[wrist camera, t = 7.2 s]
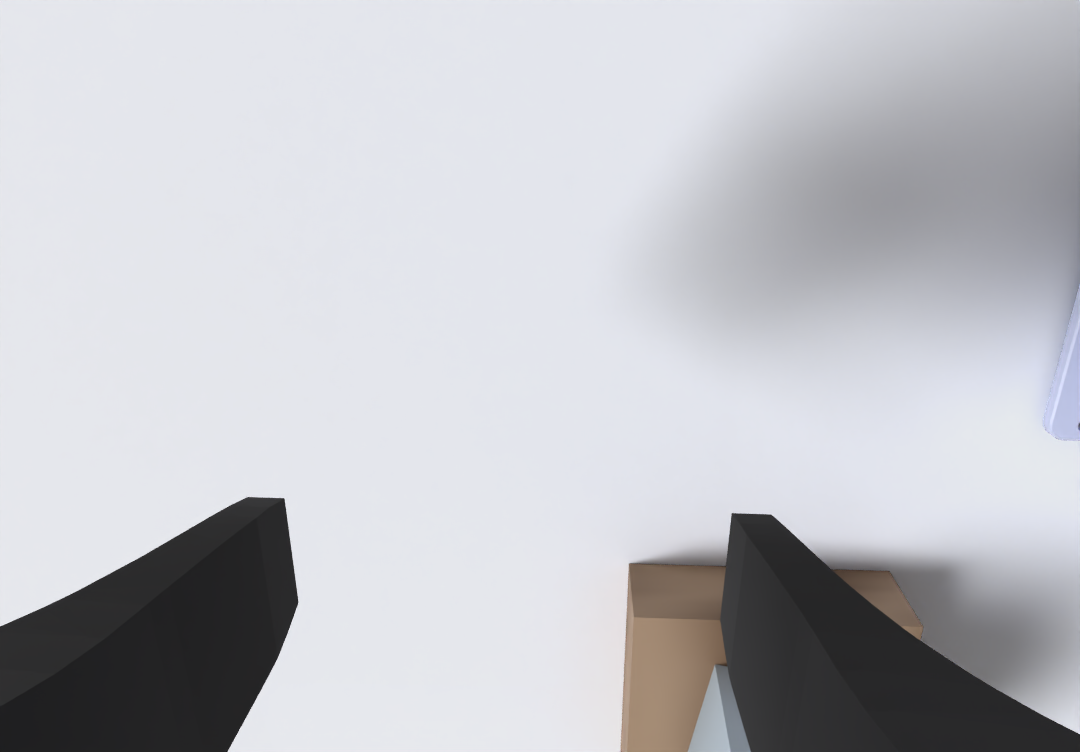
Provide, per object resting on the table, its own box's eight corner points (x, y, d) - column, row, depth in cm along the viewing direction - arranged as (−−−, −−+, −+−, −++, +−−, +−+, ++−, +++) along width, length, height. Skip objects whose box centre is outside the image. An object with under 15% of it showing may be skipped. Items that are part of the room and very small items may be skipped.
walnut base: (883, 562, 24) (923, 627, 21) (847, 752, 27) (877, 830, 24) (628, 555, 24) (633, 617, 21) (619, 743, 27) (623, 819, 24)
